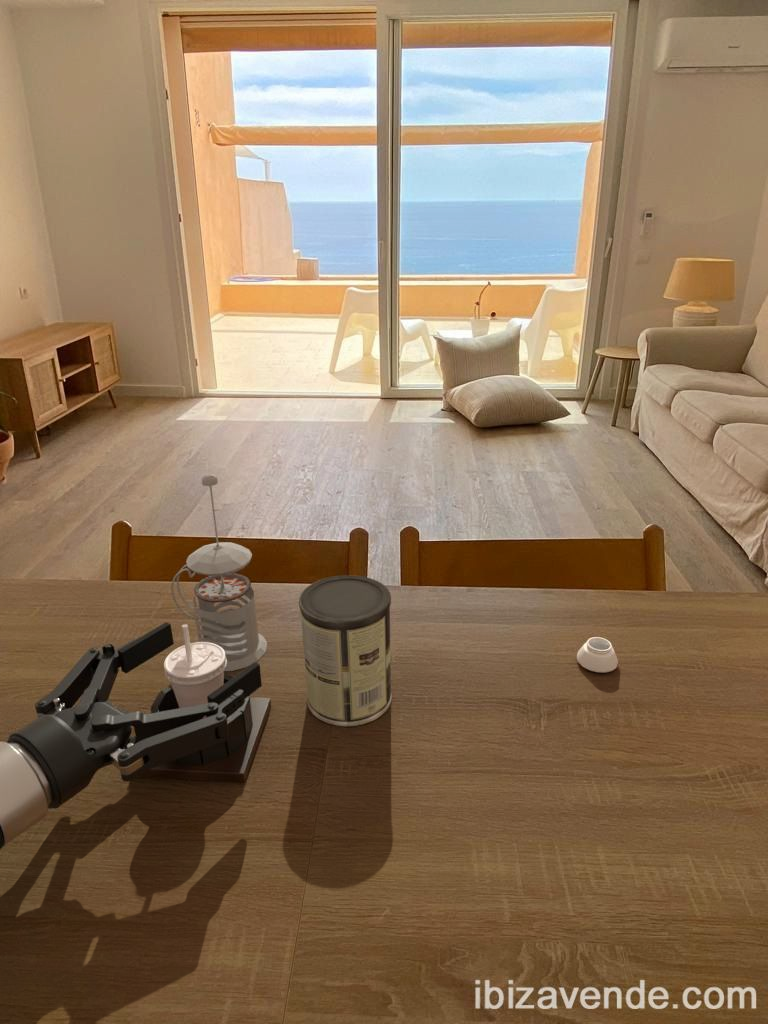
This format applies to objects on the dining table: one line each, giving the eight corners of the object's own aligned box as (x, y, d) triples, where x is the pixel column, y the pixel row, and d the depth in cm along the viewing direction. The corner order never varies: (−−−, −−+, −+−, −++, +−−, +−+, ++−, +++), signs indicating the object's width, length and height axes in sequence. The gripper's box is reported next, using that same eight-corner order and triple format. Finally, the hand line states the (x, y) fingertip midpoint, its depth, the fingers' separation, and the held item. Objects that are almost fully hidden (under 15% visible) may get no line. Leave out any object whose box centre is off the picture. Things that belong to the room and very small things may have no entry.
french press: (253, 674, 88) (233, 491, 77) (167, 667, 89) (136, 486, 79) (276, 631, 96) (261, 462, 86) (197, 625, 98) (173, 458, 88)
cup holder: (131, 776, 72) (123, 737, 70) (172, 701, 83) (166, 665, 81) (244, 782, 71) (240, 743, 69) (271, 705, 82) (267, 669, 80)
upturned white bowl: (590, 646, 92) (568, 662, 89) (593, 628, 91) (571, 643, 88) (624, 663, 89) (602, 680, 86) (627, 644, 88) (605, 660, 85)
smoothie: (164, 731, 77) (145, 623, 71) (215, 703, 81) (200, 600, 75) (195, 761, 72) (177, 649, 67) (246, 730, 77) (233, 623, 71)
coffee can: (337, 662, 90) (332, 566, 84) (407, 688, 85) (407, 587, 79) (288, 708, 82) (279, 605, 76) (362, 739, 77) (359, 632, 71)
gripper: (-37, 751, 67) (142, 644, 83) (127, 877, 55) (302, 723, 71) (-58, 688, 64) (132, 590, 80) (111, 807, 52) (297, 662, 68)
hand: (212, 652), depth 76 cm, fingers open, 13 cm apart
